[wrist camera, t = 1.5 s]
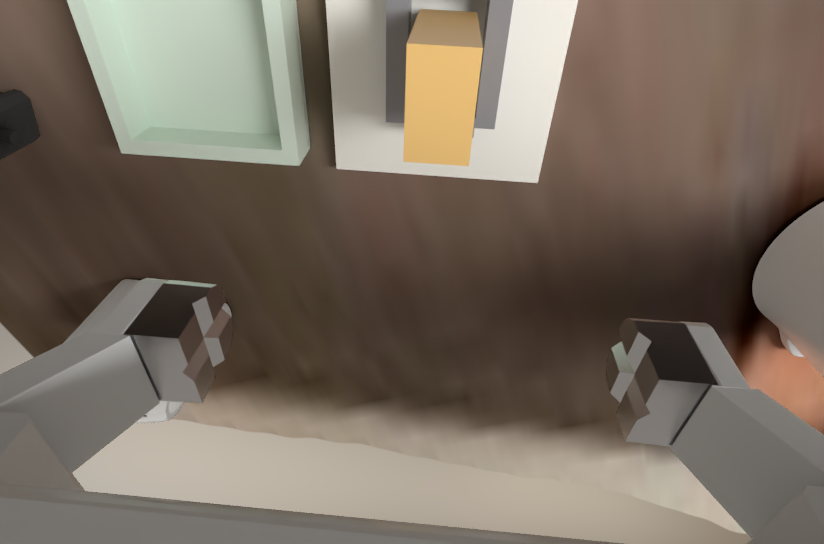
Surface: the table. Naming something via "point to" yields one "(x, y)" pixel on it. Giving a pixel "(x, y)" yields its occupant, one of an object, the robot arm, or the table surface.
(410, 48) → the block
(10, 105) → the geiger counter
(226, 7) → the parts tray
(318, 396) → the table surface
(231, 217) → the table surface
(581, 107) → the table surface
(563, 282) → the table surface
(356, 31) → the panel
